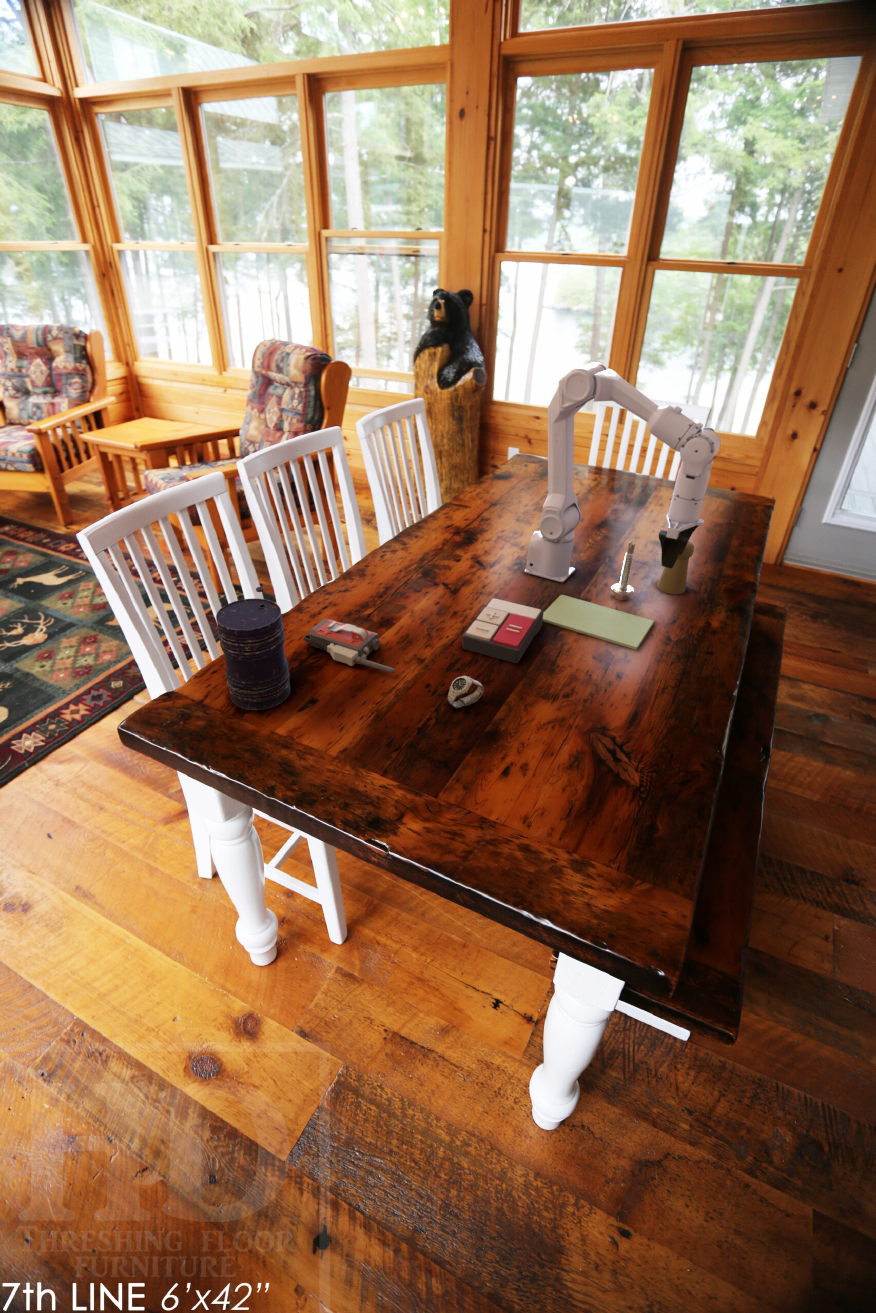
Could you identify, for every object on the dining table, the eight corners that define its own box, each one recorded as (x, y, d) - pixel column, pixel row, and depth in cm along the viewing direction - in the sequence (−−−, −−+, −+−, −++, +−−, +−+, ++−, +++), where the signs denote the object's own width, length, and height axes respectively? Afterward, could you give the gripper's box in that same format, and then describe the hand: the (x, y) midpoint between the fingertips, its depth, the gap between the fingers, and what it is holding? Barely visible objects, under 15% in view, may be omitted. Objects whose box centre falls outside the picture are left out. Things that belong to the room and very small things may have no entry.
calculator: (461, 632, 117) (491, 594, 128) (461, 651, 120) (490, 612, 131) (519, 647, 114) (544, 607, 125) (517, 666, 116) (542, 625, 127)
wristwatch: (444, 702, 106) (445, 677, 103) (476, 692, 108) (477, 668, 105) (454, 714, 103) (456, 689, 100) (487, 703, 106) (489, 679, 103)
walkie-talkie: (296, 650, 117) (391, 681, 110) (293, 629, 115) (390, 659, 108) (324, 628, 124) (415, 656, 117) (322, 608, 122) (415, 635, 114)
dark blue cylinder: (260, 718, 101) (244, 618, 91) (216, 696, 105) (197, 599, 95) (303, 687, 108) (293, 592, 98) (260, 668, 112) (247, 575, 102)
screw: (628, 605, 136) (606, 598, 138) (635, 596, 139) (613, 590, 141) (640, 548, 128) (617, 542, 131) (647, 540, 132) (624, 534, 134)
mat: (538, 620, 129) (538, 617, 129) (560, 596, 138) (561, 594, 138) (636, 650, 121) (636, 647, 121) (653, 623, 130) (654, 620, 129)
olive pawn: (686, 595, 140) (699, 548, 134) (658, 592, 141) (669, 545, 135) (683, 583, 145) (695, 537, 139) (656, 580, 146) (667, 534, 140)
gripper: (701, 511, 117) (683, 578, 124) (717, 489, 127) (699, 552, 135) (662, 502, 120) (647, 569, 127) (681, 482, 130) (665, 544, 138)
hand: (671, 560), depth 131 cm, fingers open, 7 cm apart
